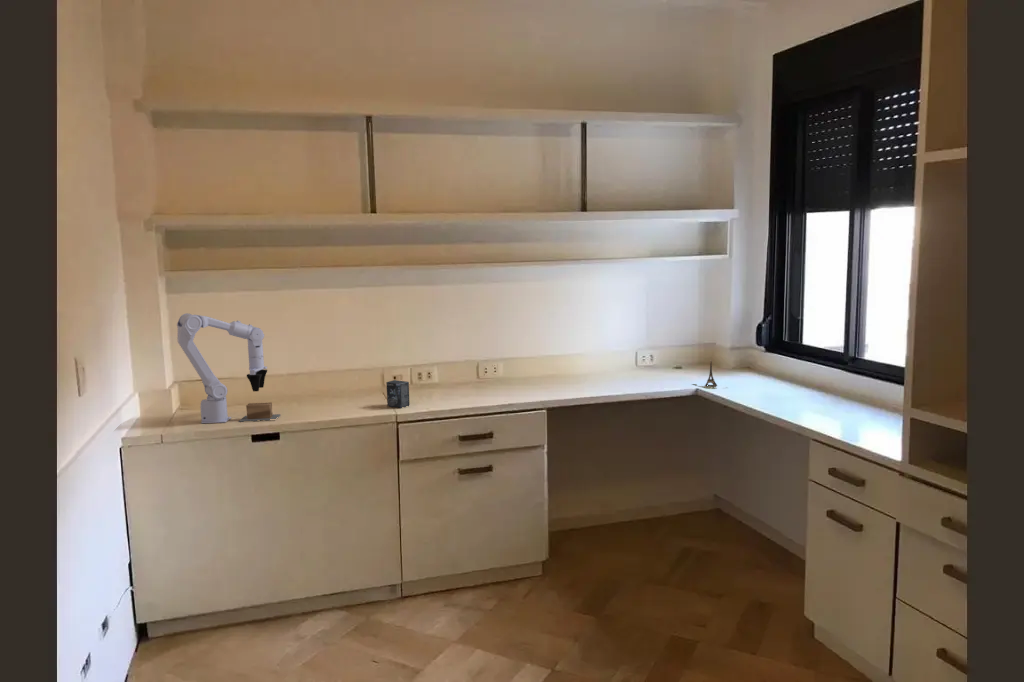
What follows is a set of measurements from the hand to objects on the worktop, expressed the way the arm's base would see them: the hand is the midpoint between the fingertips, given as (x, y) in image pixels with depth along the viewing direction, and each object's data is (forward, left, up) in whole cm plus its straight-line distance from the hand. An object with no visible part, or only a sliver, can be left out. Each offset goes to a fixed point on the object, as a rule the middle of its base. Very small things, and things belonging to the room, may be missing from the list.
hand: (258, 389), depth 310 cm
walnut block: (+2, -8, -10) cm, 13 cm away
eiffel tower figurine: (+196, +22, -11) cm, 198 cm away
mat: (+2, -8, -10) cm, 13 cm away
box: (+56, +5, -11) cm, 57 cm away
